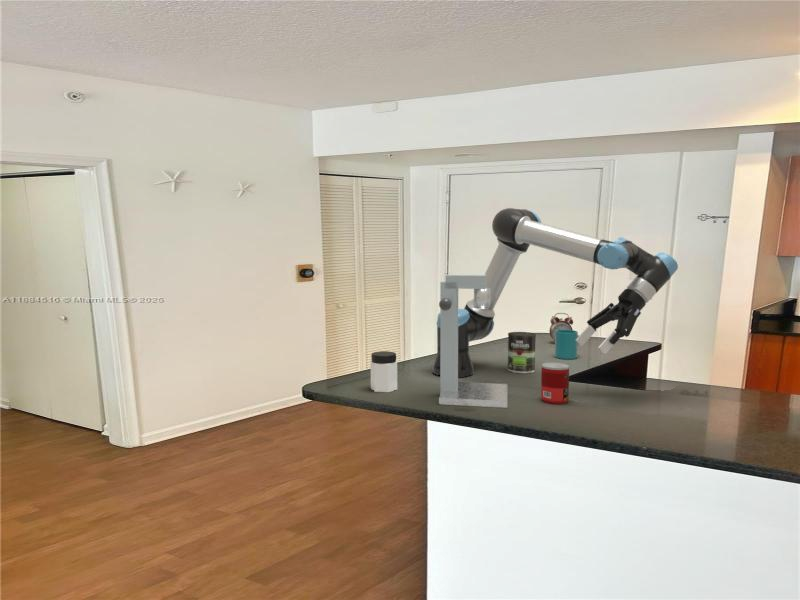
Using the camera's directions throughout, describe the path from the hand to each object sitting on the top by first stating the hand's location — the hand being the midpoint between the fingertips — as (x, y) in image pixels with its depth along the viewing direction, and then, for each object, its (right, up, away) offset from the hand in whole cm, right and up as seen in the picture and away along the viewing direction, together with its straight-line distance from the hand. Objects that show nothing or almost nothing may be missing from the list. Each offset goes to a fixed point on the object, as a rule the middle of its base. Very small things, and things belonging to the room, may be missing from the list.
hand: (589, 346), depth 164 cm
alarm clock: (+20, -7, +97) cm, 100 cm away
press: (-35, -16, +3) cm, 38 cm away
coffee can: (-12, -13, +41) cm, 44 cm away
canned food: (-11, -17, 0) cm, 20 cm away
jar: (-63, -16, +14) cm, 66 cm away
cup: (+14, -10, +65) cm, 67 cm away
